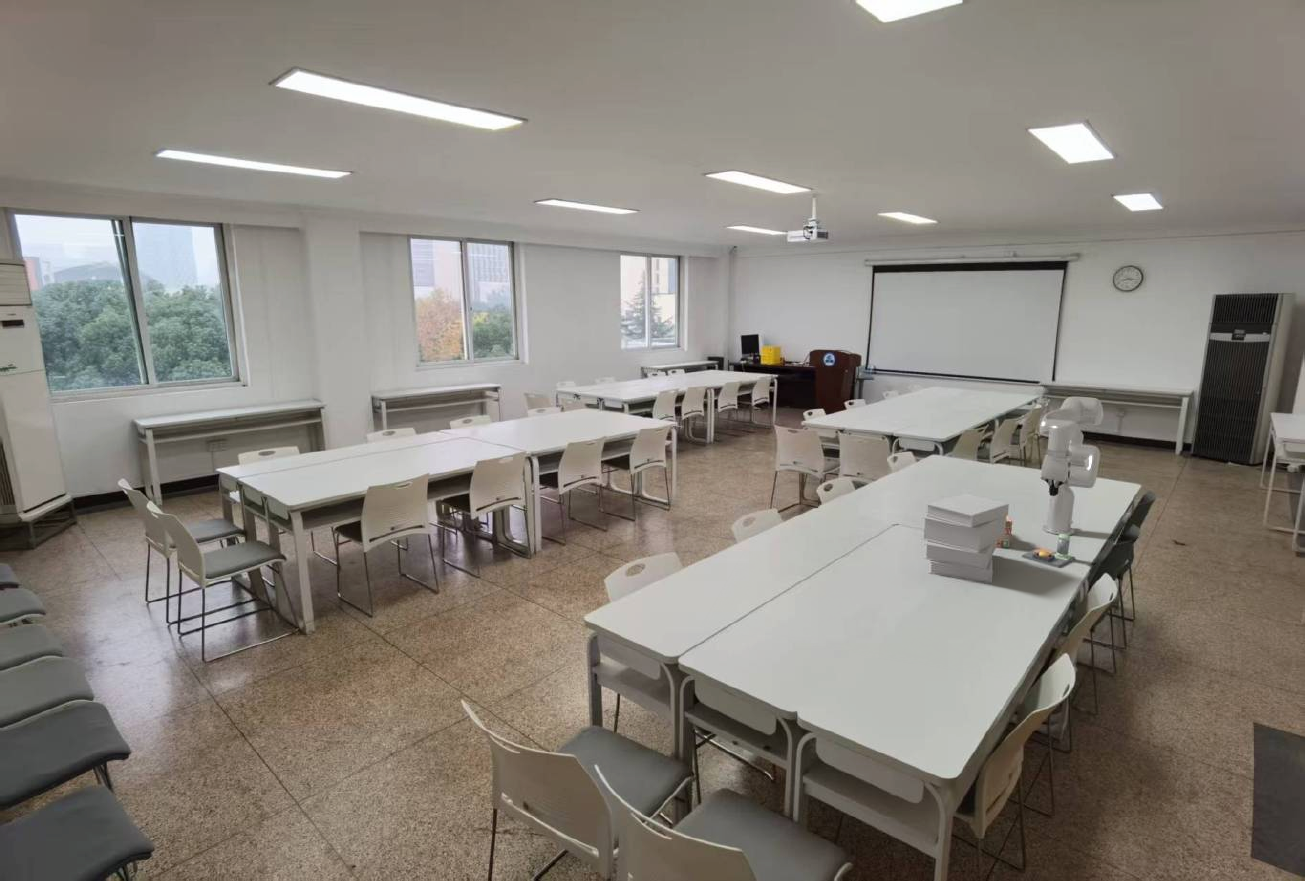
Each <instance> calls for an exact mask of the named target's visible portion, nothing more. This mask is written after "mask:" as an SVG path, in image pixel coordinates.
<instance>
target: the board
mask: <svg viewBox="0 0 1305 881" xmlns="http://www.w3.org/2000/svg"><path fill="white" fill-rule="evenodd" d="M1040 551H1044V552H1048V553H1049V557H1048V558H1046V557H1042V556H1039V552H1040ZM1056 553H1057V551H1054V550H1050V549H1048V548H1047V549H1046V548H1043V547H1038V548H1037V547H1036V548H1034V549H1032V550H1030V551H1028V552H1026V553H1023V554H1022V555H1021V557H1022V558H1023V557H1024V559H1026V558H1027V559H1026V560H1030V561H1033V560H1034V561H1033V562H1037V563H1041V564H1045V565H1048V566H1052V567H1054V568H1055V567H1056V568H1060V567H1062V566H1064V565H1067V564H1069V563H1070V562H1072V561H1074V559H1075V560H1076V557H1075V556H1073V555H1069V554H1068V557H1067V558H1060V557H1058V556H1056Z"/></svg>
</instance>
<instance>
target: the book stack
mask: <svg viewBox="0 0 1305 881" xmlns="http://www.w3.org/2000/svg"><path fill="white" fill-rule="evenodd" d="M925 505H926V506H927V511H926V513H925V516H923V519H924V527H923V528H924V530H923V531H924V532H923V537H922V538H920V540H924V541H927V542H926V543H925V546H926V554H925V556H924V557H923V558H924V560H929V563H930V564H929V570H928V574H932V575H939V576H945V577H951V578H957V579H963V580H969V581H976V582H981V583H990V584H992V583H993V582H992V580H993V572H994V571H993V555H994V554H995V553H994V552H995V550H996V548H997V547H996V546H997V541H998V539H999V538H1001V537H1002V536H1004V535H1005V527H1006V517H1008V516H1009V515H1008V514H1009V506H1010V505H1009V503H1006V502H1003V501H997V500H994V499H990V498H985V497H980V496H975V495H972V494H967V493H959V494H956V495H951V496H948V497H945V498H942V499H938V500H934V501H931V502H926V503H925Z"/></svg>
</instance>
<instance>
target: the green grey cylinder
mask: <svg viewBox="0 0 1305 881" xmlns="http://www.w3.org/2000/svg"><path fill="white" fill-rule="evenodd" d="M1057 539H1058V540H1057V547H1056V552H1057V553H1056V556H1058V557H1060V558H1067V557H1068V555H1069V551H1070V550H1069V548H1070V542H1071V535H1067V534H1059V535H1058V538H1057Z"/></svg>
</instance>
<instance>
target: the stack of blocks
mask: <svg viewBox="0 0 1305 881" xmlns="http://www.w3.org/2000/svg"><path fill="white" fill-rule="evenodd" d="M1013 522H1014V521H1013V520H1011V518H1010V517H1009V516H1007V517H1006V527H1005V535H1004V536H1002V537H1001V538H999V539H998V541H997V546H996V548H1010V546H1011V537H1012V536H1011V535H1012V529H1013Z"/></svg>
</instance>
